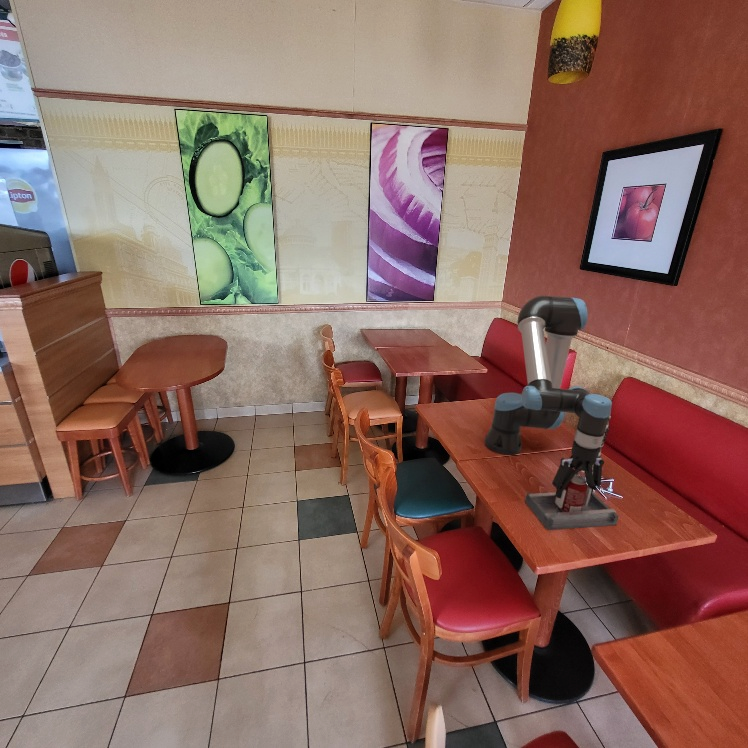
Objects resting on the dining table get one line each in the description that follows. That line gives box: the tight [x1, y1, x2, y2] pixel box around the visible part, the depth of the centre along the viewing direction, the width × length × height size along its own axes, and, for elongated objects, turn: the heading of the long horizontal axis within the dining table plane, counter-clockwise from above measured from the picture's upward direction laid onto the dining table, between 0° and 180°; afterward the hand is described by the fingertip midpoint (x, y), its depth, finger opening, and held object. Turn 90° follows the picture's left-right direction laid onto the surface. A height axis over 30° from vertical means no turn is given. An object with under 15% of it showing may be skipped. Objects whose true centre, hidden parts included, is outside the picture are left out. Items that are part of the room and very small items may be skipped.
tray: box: [524, 490, 620, 531], centre depth 133 cm, size 14×24×4 cm, turn 99°
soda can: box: [560, 474, 588, 512], centre depth 131 cm, size 7×7×12 cm
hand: (571, 504), depth 132 cm, fingers open, 8 cm apart
